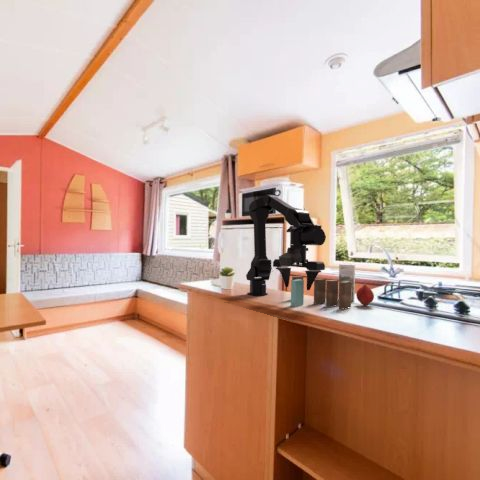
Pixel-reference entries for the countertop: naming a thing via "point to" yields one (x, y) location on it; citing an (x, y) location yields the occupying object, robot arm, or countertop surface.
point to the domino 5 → (344, 294)
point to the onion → (365, 295)
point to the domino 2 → (297, 292)
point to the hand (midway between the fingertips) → (297, 288)
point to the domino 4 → (331, 292)
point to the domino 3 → (319, 291)
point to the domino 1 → (297, 277)
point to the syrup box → (348, 276)
